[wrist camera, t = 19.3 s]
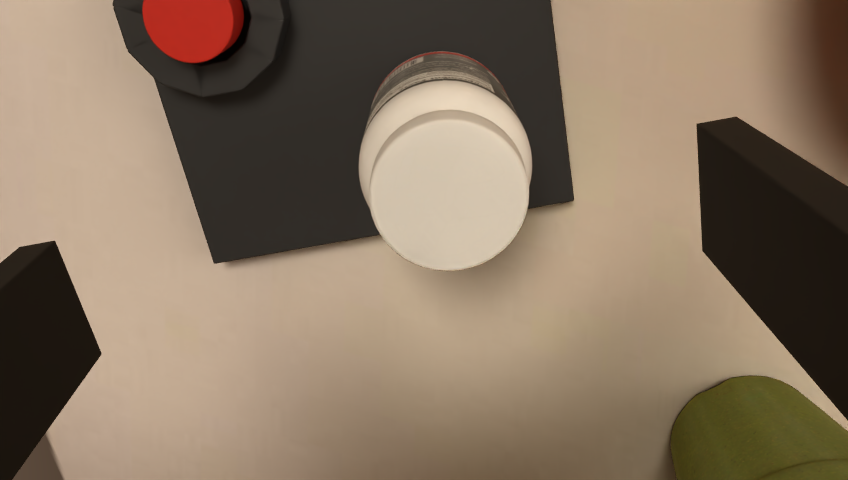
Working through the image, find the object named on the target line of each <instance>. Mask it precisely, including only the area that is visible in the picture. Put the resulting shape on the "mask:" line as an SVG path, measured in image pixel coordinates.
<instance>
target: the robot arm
mask: <svg viewBox="0 0 848 480" xmlns="http://www.w3.org/2000/svg"><path fill="white" fill-rule="evenodd" d="M697 142H698V164H699V185H700V207H701V229H702V250H703V252H704V253H705V254H706V256H707V257H708V258H709V259H710V260H711V261H712V263H713V264H714V265H715V266H716V267H717V268H718V270H719V271H720V272H721V273H722V274H723V275H724V277H725V278H726V279H727V280H728V281H729V282H730V284H731V285H732V286H733V287H734V288H735V289H736V291H737V292H738V293H739V294H740V295H741V296H742V298H743V299H744V300H745V301H746V302H747V303H748V305H749V306H750V307H751V308H752V309H753V310H754V312H755V313H756V314H757V315H758V316H759V317H760V319H761V320H762V321H763V322H764V323H765V324H766V326H767V327H768V328H769V329H770V330H771V331H772V333H773V334H774V335H775V336H776V337H777V338H778V340H779V341H780V342H781V343H782V344H783V345H784V347H785V348H786V349H787V350H788V351H789V352H790V354H791V355H792V356H793V357H794V358H795V359H796V361H797V362H798V363H799V364H800V365H801V366H802V368H803V369H804V370H805V371H806V372H807V373H808V375H809V376H810V377H811V378H812V379H813V380H814V382H815V383H816V384H817V385H818V386H819V387H820V389H821V390H822V391H823V392H824V393H825V394H826V396H827V397H828V398H829V399H830V400H831V401H832V403H833V404H834V405H835V406H836V407H837V408H838V410H839V411H840V412H841V413H842V414H843V415H844V417H845V418H846V419H847V420H848V186H846V185H844V184H843V183H841V182H840V181H838V180H836V179H835V178H833V177H832V176H830V175H828V174H827V173H825V172H824V171H822V170H820V169H819V168H817V167H816V166H814V165H812V164H811V163H809V162H808V161H806V160H804V159H803V158H801V157H800V156H798V155H797V154H795V153H793V152H792V151H790V150H789V149H787V148H785V147H784V146H782V145H781V144H779V143H777V142H776V141H774V140H773V139H771V138H769V137H768V136H766V135H765V134H763V133H761V132H760V131H758V130H757V129H755V128H753V127H752V126H750V125H749V124H747V123H746V122H744V121H742V120H741V119H739V118H738V117H732V118H727V119H721V120H716V121H710V122H705V123H699V124H697ZM100 356H101V351H100V349H99V346H98V344H97V341H96V339H95V337H94V334H93V332H92V329H91V327H90V325H89V322H88V320H87V317H86V315H85V312H84V310H83V308H82V305H81V303H80V300H79V298H78V295H77V293H76V291H75V288H74V286H73V283H72V281H71V278H70V276H69V274H68V271H67V269H66V266H65V264H64V262H63V259H62V257H61V254H60V252H59V249H58V247H57V245H56V242H55V241H51V242H45V243H40V244H34V245H29V246H23V247H19V248H18V249H17V250H16V251H14V252H13V253H12V254H11V255H10V256H8V257H7V258H6V259H5V260H4V261H2V262H1V263H0V480H12V479H13V478H14V476H15V475H16V473H17V472H18V470H19V469H20V468H21V466H22V465H23V464H24V462H25V461H26V459H27V458H28V457H29V455H30V454H31V452H32V451H33V449H34V448H35V447H36V445H37V444H38V442H39V441H40V440H41V438H42V437H43V436H44V434H45V433H46V431H47V430H48V429H49V427H50V426H51V424H52V423H53V422H54V420H55V419H56V417H57V416H58V415H59V413H60V412H61V410H62V409H63V408H64V406H65V405H66V403H67V402H68V400H69V399H70V398H71V396H72V395H73V393H74V392H75V391H76V389H77V388H78V386H79V385H80V384H81V382H82V381H83V379H84V378H85V377H86V375H87V374H88V372H89V371H90V370H91V368H92V367H93V365H94V364H95V363H96V361H97V360H98V358H99V357H100Z"/></svg>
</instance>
